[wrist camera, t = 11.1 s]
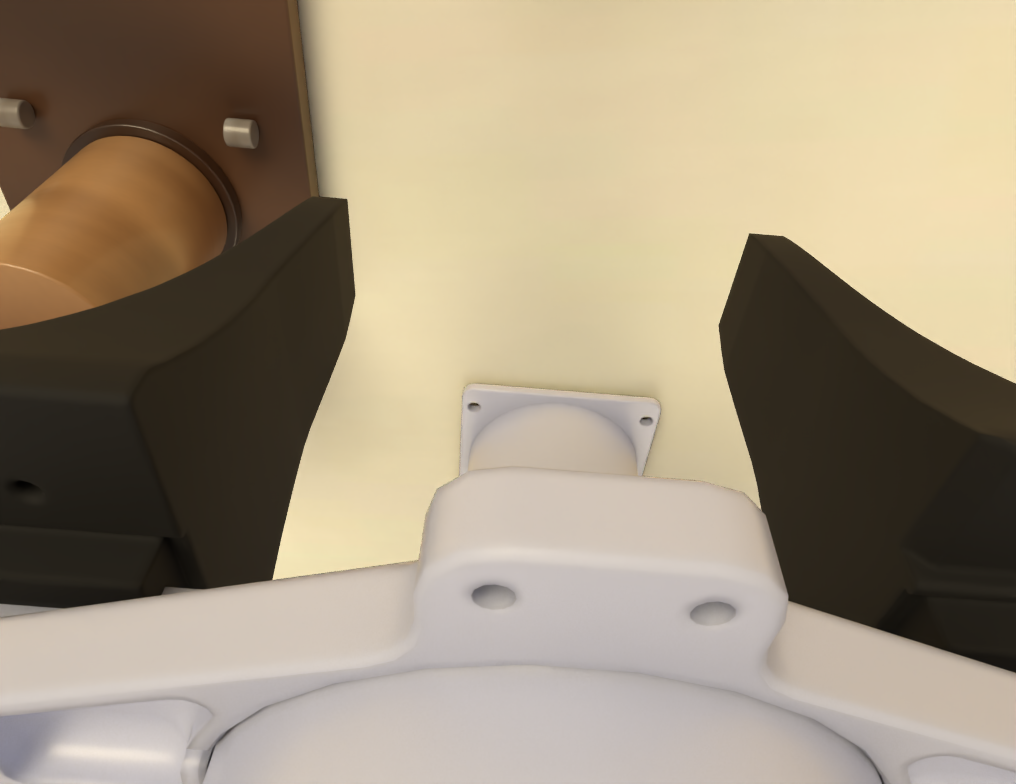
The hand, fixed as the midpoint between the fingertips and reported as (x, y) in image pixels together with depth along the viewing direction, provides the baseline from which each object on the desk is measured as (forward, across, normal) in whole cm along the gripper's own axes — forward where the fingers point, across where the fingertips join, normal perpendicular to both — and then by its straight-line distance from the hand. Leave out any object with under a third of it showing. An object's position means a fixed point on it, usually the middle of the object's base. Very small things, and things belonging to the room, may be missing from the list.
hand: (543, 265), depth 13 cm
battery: (+9, +12, +5) cm, 16 cm away
